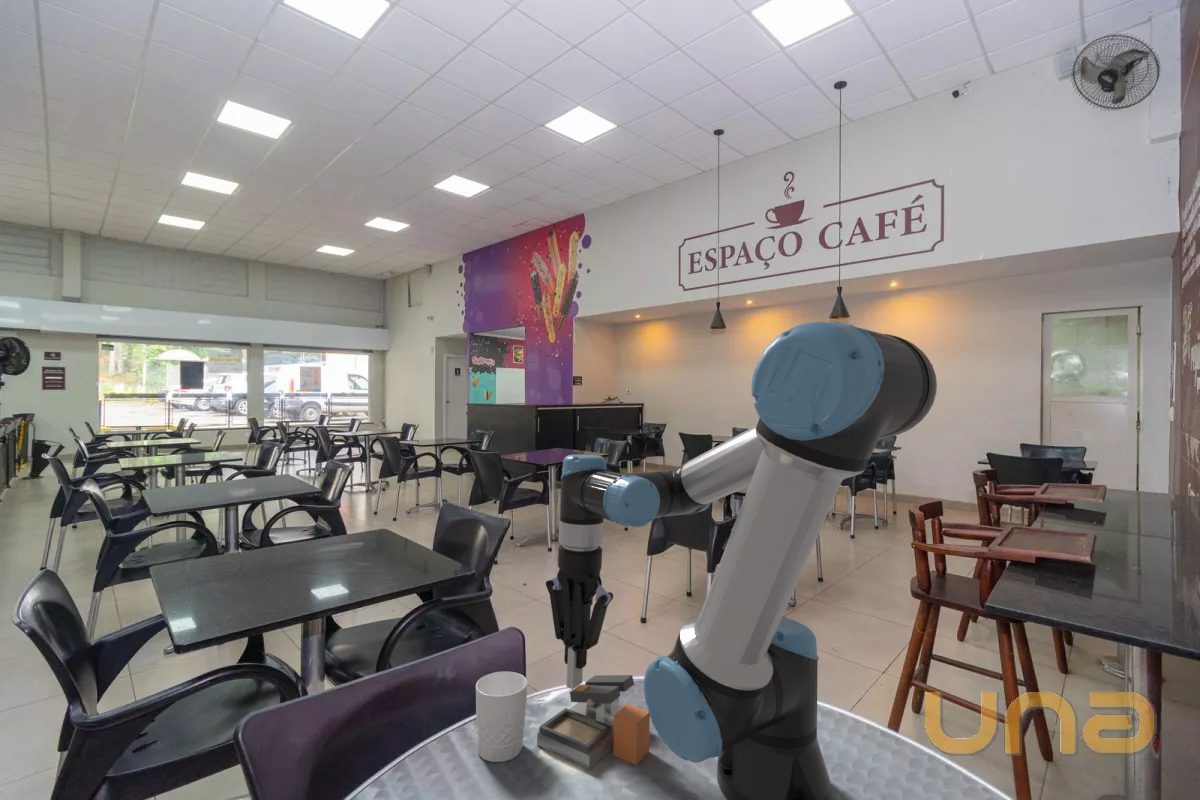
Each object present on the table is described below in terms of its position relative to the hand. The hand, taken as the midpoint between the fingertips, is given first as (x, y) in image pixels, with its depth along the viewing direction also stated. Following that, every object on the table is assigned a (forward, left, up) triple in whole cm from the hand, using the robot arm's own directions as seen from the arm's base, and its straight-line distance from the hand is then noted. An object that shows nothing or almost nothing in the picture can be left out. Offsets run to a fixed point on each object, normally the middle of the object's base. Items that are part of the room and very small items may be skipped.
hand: (574, 684), depth 90 cm
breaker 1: (-4, 0, -1) cm, 5 cm away
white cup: (+5, +13, -6) cm, 15 cm away
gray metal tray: (-4, +1, -6) cm, 8 cm away
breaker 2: (-4, -4, -1) cm, 6 cm away
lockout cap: (-12, +2, -6) cm, 14 cm away
